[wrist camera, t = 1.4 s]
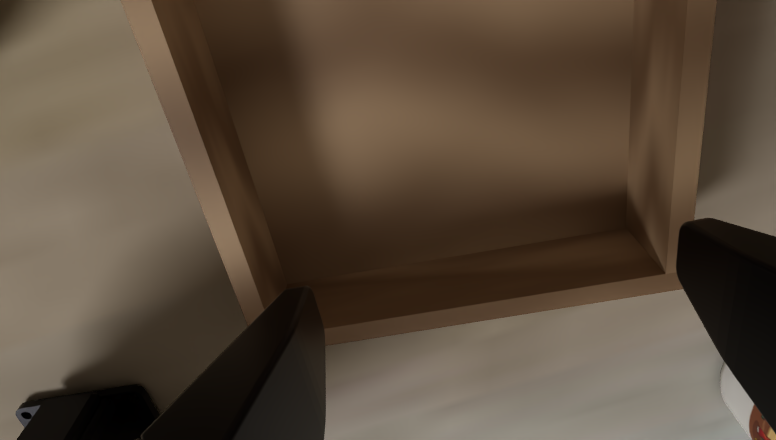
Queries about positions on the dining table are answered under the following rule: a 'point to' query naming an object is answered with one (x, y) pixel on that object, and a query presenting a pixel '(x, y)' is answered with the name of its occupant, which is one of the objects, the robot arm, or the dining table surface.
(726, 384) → the milk bottle
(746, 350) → the robot arm
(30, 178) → the dining table surface
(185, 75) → the wooden tray
